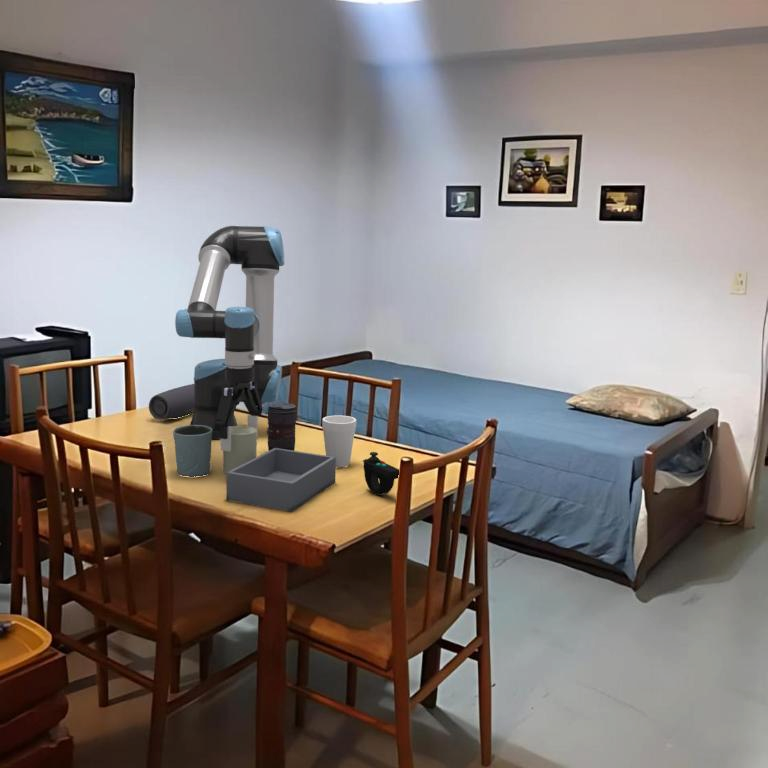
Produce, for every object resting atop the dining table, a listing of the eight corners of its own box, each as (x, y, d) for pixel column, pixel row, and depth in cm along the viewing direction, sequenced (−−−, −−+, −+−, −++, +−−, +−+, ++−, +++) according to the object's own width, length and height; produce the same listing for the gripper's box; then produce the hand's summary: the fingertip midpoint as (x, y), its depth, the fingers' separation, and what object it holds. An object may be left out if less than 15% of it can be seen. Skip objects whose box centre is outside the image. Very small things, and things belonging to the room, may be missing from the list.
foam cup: (322, 469, 225) (323, 423, 223) (320, 459, 234) (320, 415, 232) (357, 469, 227) (358, 423, 224) (353, 459, 236) (354, 415, 233)
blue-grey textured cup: (212, 466, 224) (212, 424, 222) (213, 478, 215) (212, 434, 212) (174, 468, 222) (173, 425, 220) (173, 479, 213) (172, 435, 210)
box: (274, 472, 221) (274, 447, 220) (335, 482, 215) (335, 456, 213) (226, 500, 199) (226, 472, 198) (292, 511, 193) (292, 483, 191)
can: (241, 478, 215) (241, 434, 213) (215, 472, 220) (214, 428, 218) (264, 470, 223) (264, 427, 220) (238, 464, 228) (238, 422, 225)
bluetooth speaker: (189, 407, 290) (189, 380, 288) (211, 411, 286) (211, 383, 284) (147, 421, 270) (146, 392, 268) (170, 425, 266) (169, 395, 264)
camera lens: (290, 460, 232) (291, 409, 229) (263, 458, 234) (263, 407, 231) (299, 453, 240) (299, 403, 237) (272, 450, 241) (273, 401, 238)
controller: (373, 486, 213) (374, 449, 211) (402, 499, 203) (403, 461, 201) (359, 488, 211) (360, 451, 208) (388, 503, 201) (389, 464, 199)
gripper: (226, 374, 203) (226, 457, 207) (275, 361, 226) (274, 435, 230) (200, 371, 205) (201, 453, 209) (251, 358, 228) (251, 432, 232)
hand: (239, 444), depth 219 cm, fingers open, 13 cm apart
